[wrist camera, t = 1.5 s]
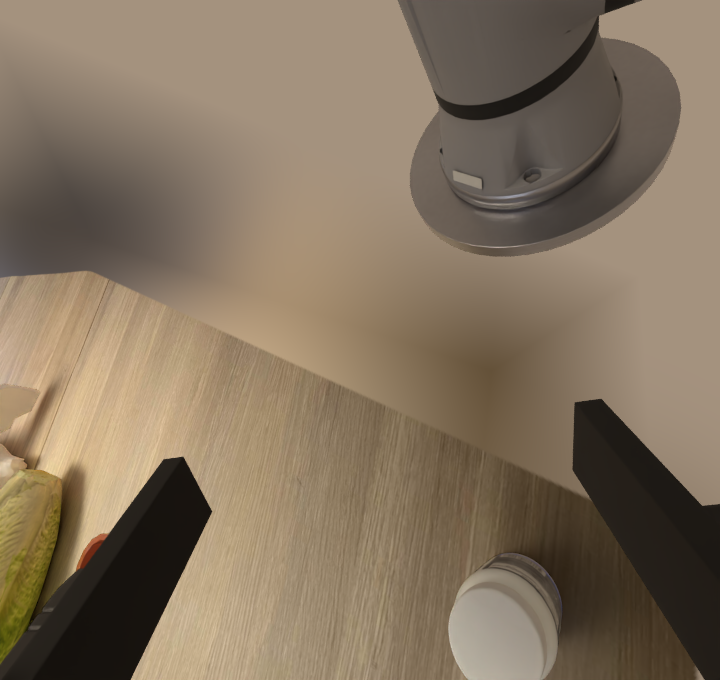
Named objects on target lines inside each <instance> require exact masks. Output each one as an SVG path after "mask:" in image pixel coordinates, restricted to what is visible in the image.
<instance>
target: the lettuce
mask: <svg viewBox="0 0 720 680" xmlns="http://www.w3.org/2000/svg"><path fill="white" fill-rule="evenodd" d="M61 497H62V489H61V479H60V478H58V477H56V476H54V475H52V474H49V473H47V472H45V471H43V470H31V469H20V470H18V471H17V472H16V473H15V474H14V475H13V476H12V477H11V478H10V479H9V480H8V481H7V482H6V484H5V485H4V486H3V487H2V489H1V490H0V664H1V663H2V661H3V660H4V659H5V657H6V656H7V655H8V653H9V652H10V651H11V649H12V648H13V647H14V645H15V644H16V643H17V642H18V640H19V639H20V638H21V636H22V635H23V634H24V632H26V631H27V628H28V625H29V622H30V619H31V616H32V613H33V611H34V608H35V606H36V603H37V601H38V598H39V596H40V593H41V590H42V587H43V583H44V580H45V577H46V574H47V571H48V568H49V565H50V561H51V558H52V554H53V551H54V547H55V544H56V540H57V535H58V529H59V522H60V513H61Z"/></svg>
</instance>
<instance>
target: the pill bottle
mask: <svg viewBox="0 0 720 680" xmlns="http://www.w3.org/2000/svg"><path fill="white" fill-rule="evenodd" d="M561 619H562V602H561V597H560V594H559V591H558V589H557V586H556V585H555V583H554V581H553V579H552V578H551V576H550V575H549V574H548V573H547V571H546V570H545V569H544V568H543V567H542V566H541V565H539V564H538V563H537V562H536V561H534V560H532V559H531V558H529V557H526V556H524V555H521V554H517V553H504V554H500V555H497V556H495V557H493V558H492V559H490V560H489V561H488V562H486V563H485V564H484V565H482V566H481V567H480V568H479V569H478V570H476V571H475V572H474V573H473V574H472V575H471V576H469V577H468V578H467V579H466V580H465V581H464V583H463V584H462V586H461V587H460V589H459V591H458V594H457V596H456V601H455V604H454V606H453V609H452V611H451V614H450V618H449V640H450V645H451V649H452V652H453V655H454V657H455V660H456V662H457V664H458V666H459V668H460V669H461V671H462V672H463V674H464V675H465V677H466V678H467V679H468V680H543V679H544V678H545V677H546V676H547V675H548V674H549V672H550V671H551V669H552V667H553V665H554V663H555V660H556V656H557V650H558V644H559V634H560V628H561Z"/></svg>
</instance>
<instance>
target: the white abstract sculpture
mask: <svg viewBox="0 0 720 680" xmlns="http://www.w3.org/2000/svg"><path fill="white" fill-rule="evenodd" d="M39 394H40V392H39V391H38V390H37V389H33V388H27V387H21V386H15V385H9V384H2V385H0V433H2V432H4V431H6V430H8V429H10V428H11V426H12V424H13V421H14V419H15V418H17V417H19V416H21V415H24V414H26V413H28V412H30V411H31V410H32V408H33V406H34V404H35V402H36V400H37V398H38V396H39ZM23 460H24V459H22V458H19V457H16V456H13V455H11V454H10V453H9V452H8V450H7V449H6V448H5V447H4V446H3V445H2V444H1V443H0V490H1V489H2V487H3V486H4V485H5V484H6V482H7V481H8V480H9V479H10V478H11V477H12V476H13V475H14V474H15V473H16V472H17V471H18V470H20V469H26V468H27V464H26V463H24V461H23Z"/></svg>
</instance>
